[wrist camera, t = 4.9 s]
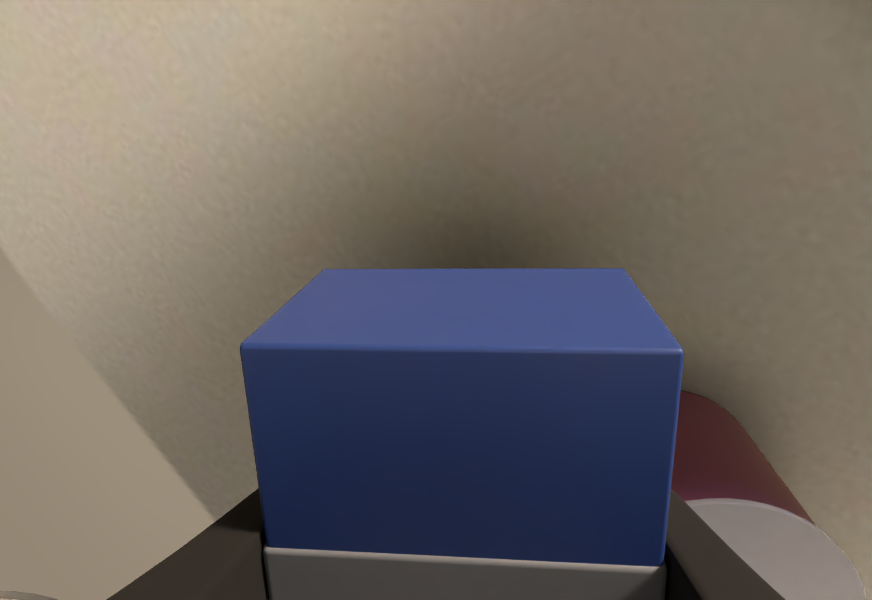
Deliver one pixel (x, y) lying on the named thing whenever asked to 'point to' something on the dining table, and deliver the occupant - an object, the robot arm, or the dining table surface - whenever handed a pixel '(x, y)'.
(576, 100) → the dining table surface
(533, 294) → the block
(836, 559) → the yogurt
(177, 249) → the dining table surface
